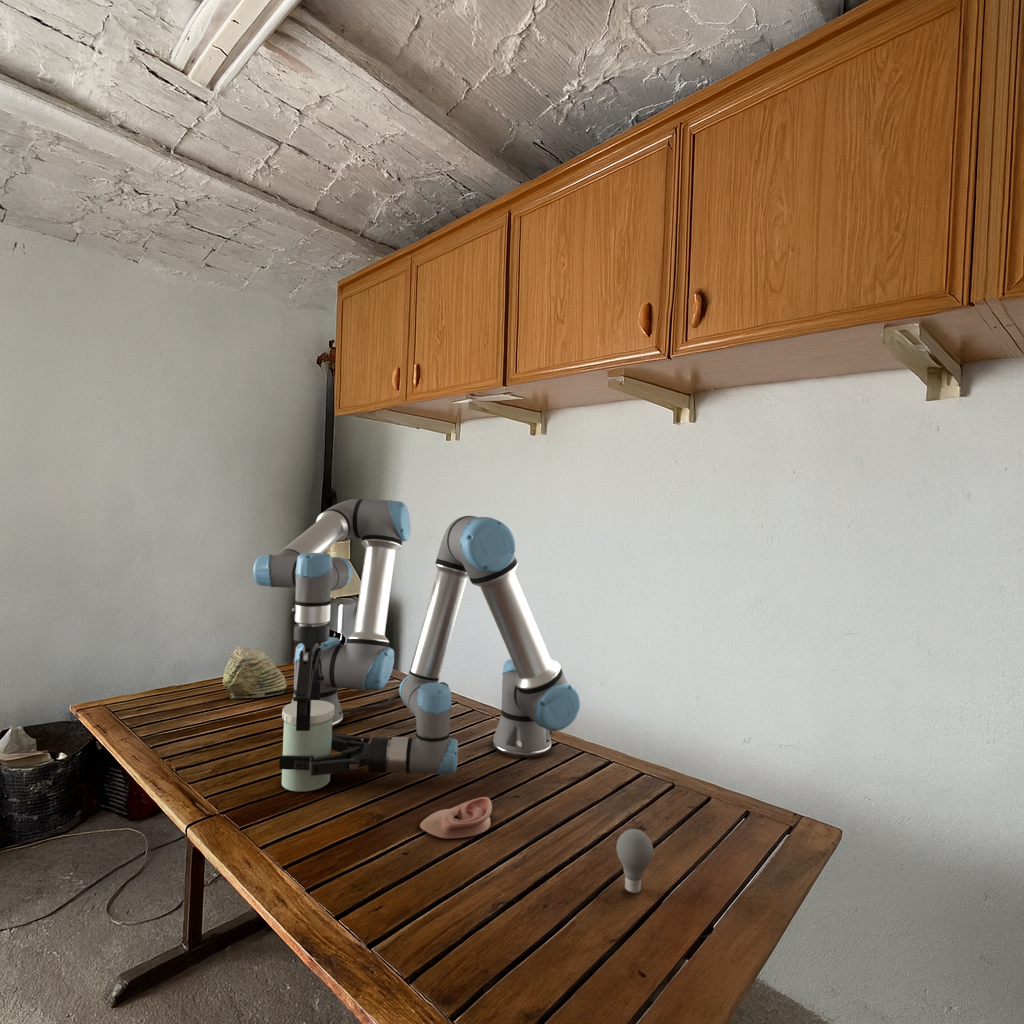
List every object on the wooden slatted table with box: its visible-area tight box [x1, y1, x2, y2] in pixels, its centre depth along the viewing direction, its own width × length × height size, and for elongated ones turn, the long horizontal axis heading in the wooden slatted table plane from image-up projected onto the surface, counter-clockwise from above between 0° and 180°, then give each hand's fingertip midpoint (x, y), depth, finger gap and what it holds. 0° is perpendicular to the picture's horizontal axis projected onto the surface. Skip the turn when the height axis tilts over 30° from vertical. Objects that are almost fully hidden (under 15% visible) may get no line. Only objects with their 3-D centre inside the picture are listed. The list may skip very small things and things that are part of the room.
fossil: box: [222, 646, 288, 699], centre depth 198 cm, size 9×18×15 cm, turn 132°
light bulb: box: [615, 828, 654, 894], centre depth 106 cm, size 6×6×10 cm
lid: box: [281, 700, 335, 724], centre depth 140 cm, size 11×11×2 cm
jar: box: [281, 718, 333, 792], centre depth 141 cm, size 10×10×15 cm
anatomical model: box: [419, 796, 493, 840], centre depth 124 cm, size 13×4×12 cm
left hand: (308, 719), depth 141 cm, fingers open, 12 cm apart
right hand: (288, 751), depth 141 cm, fingers closed on jar, 10 cm apart
